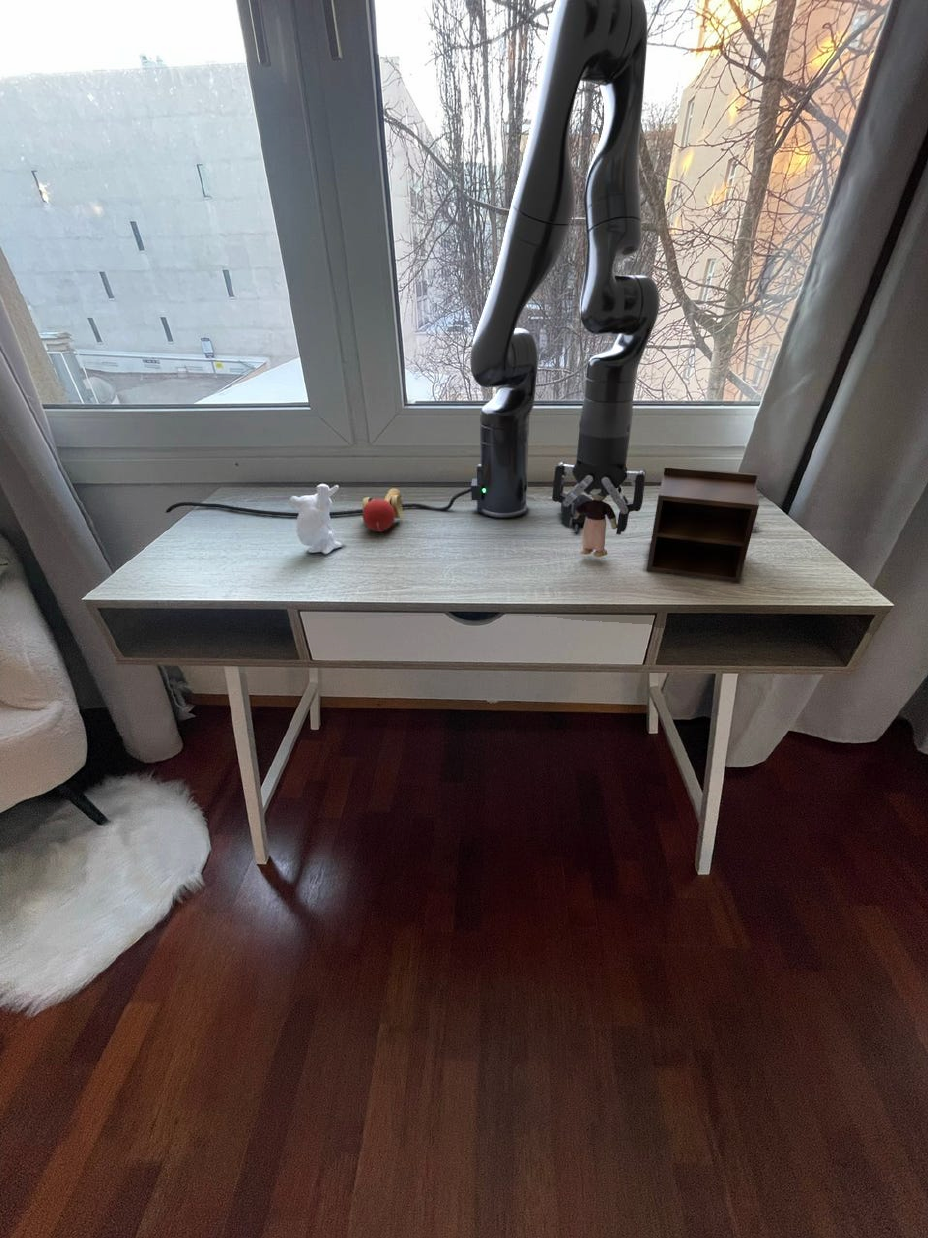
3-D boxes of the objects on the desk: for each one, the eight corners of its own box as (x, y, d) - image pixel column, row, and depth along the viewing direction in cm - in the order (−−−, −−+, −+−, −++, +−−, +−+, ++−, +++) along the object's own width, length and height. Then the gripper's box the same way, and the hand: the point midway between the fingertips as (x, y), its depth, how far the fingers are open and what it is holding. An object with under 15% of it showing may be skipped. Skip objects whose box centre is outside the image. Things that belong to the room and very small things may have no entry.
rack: (646, 570, 96) (659, 487, 89) (652, 543, 105) (665, 466, 97) (739, 583, 92) (761, 496, 84) (737, 554, 101) (757, 473, 93)
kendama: (373, 508, 126) (352, 530, 109) (377, 478, 123) (355, 496, 107) (409, 514, 126) (393, 538, 109) (413, 485, 123) (397, 505, 107)
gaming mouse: (559, 532, 110) (560, 512, 107) (561, 504, 122) (562, 485, 120) (593, 534, 109) (595, 514, 106) (592, 505, 121) (594, 486, 119)
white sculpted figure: (349, 541, 108) (341, 477, 102) (343, 557, 102) (334, 490, 96) (303, 542, 108) (292, 478, 102) (294, 558, 102) (282, 492, 96)
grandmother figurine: (614, 551, 100) (626, 478, 93) (611, 560, 97) (623, 485, 90) (570, 544, 102) (578, 472, 96) (565, 552, 99) (574, 479, 93)
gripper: (656, 426, 89) (640, 526, 98) (563, 419, 94) (555, 515, 102) (651, 439, 83) (634, 544, 92) (552, 431, 88) (545, 532, 96)
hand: (593, 529), depth 97 cm, fingers closed on grandmother figurine, 8 cm apart
